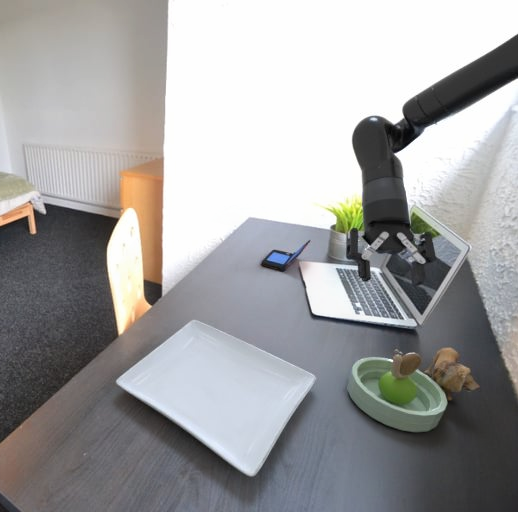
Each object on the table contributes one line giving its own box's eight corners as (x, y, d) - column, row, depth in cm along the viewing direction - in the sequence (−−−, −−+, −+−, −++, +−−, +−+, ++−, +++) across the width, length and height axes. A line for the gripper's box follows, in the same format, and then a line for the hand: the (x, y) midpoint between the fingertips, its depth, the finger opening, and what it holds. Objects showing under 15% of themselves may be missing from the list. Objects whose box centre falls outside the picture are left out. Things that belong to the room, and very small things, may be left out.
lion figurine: (465, 419, 63) (487, 380, 59) (426, 407, 65) (445, 369, 61) (447, 366, 74) (464, 330, 70) (414, 357, 77) (429, 322, 73)
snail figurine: (363, 393, 68) (382, 341, 63) (389, 384, 70) (410, 333, 64) (391, 415, 63) (414, 362, 58) (418, 406, 65) (443, 353, 60)
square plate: (250, 495, 53) (254, 477, 51) (113, 395, 70) (112, 379, 68) (314, 388, 70) (319, 373, 68) (192, 329, 87) (193, 316, 85)
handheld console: (272, 251, 124) (276, 231, 121) (306, 260, 118) (311, 239, 115) (259, 265, 116) (262, 244, 112) (295, 275, 109) (300, 252, 106)
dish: (414, 380, 71) (422, 362, 69) (455, 441, 59) (466, 421, 57) (337, 370, 74) (342, 352, 72) (361, 426, 62) (368, 407, 60)
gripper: (353, 195, 72) (358, 273, 67) (437, 198, 69) (449, 280, 64) (338, 212, 79) (342, 284, 74) (414, 215, 76) (423, 291, 71)
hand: (391, 282), depth 69 cm, fingers open, 8 cm apart
